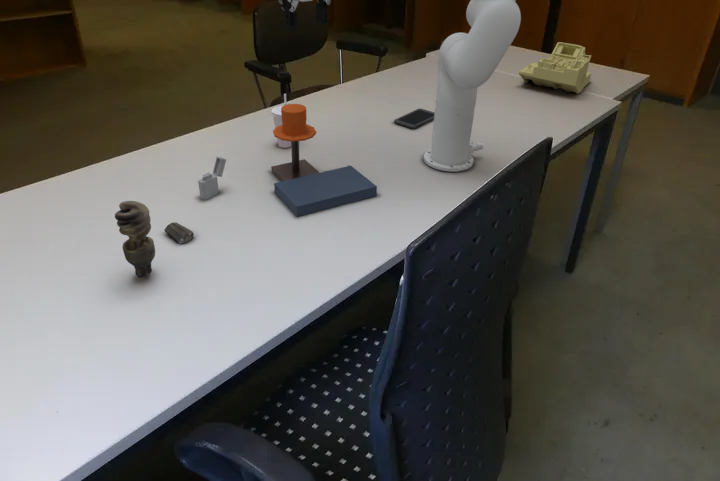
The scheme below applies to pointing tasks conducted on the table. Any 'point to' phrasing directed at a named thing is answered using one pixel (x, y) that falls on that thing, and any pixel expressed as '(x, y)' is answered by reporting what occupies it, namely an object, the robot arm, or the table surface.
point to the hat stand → (293, 166)
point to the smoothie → (280, 123)
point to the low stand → (324, 190)
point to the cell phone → (415, 118)
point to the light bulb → (136, 236)
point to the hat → (294, 124)
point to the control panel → (560, 69)
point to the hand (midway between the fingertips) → (307, 26)
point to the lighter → (211, 180)
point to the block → (179, 232)
